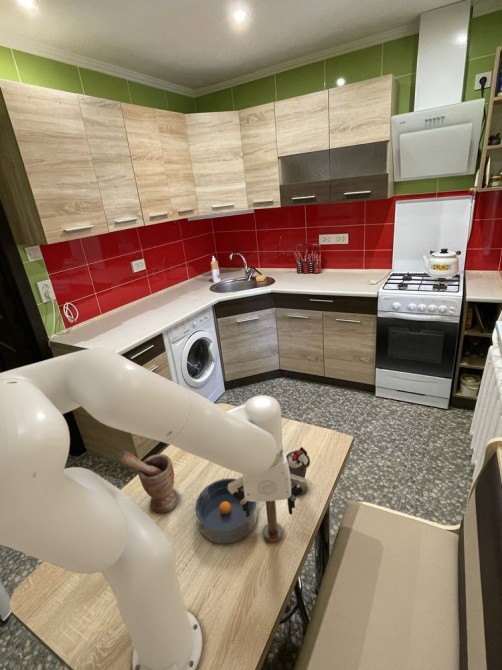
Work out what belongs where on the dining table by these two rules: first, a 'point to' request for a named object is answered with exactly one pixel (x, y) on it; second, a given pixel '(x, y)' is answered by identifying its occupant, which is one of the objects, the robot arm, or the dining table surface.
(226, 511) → the orange ball
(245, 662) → the dining table surface
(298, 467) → the sundae
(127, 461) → the mortar and pestle
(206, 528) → the bowl
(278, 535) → the brown flanged wooden cylinder
